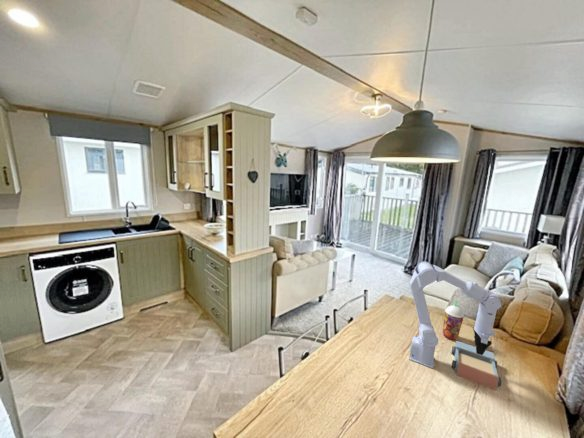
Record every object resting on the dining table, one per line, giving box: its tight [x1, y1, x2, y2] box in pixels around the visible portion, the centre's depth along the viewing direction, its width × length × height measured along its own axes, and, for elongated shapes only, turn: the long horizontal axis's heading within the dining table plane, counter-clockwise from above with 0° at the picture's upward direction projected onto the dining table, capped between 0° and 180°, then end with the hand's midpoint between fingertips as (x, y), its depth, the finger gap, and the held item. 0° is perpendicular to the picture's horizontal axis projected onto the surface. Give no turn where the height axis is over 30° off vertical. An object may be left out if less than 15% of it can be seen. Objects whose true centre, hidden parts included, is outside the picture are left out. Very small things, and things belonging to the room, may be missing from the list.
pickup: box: [451, 340, 502, 389], centre depth 111 cm, size 16×17×5 cm
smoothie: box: [442, 300, 465, 341], centre depth 130 cm, size 8×8×20 cm
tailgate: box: [455, 362, 500, 391], centre depth 103 cm, size 13×1×6 cm, turn 58°
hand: (478, 349), depth 107 cm, fingers open, 5 cm apart
